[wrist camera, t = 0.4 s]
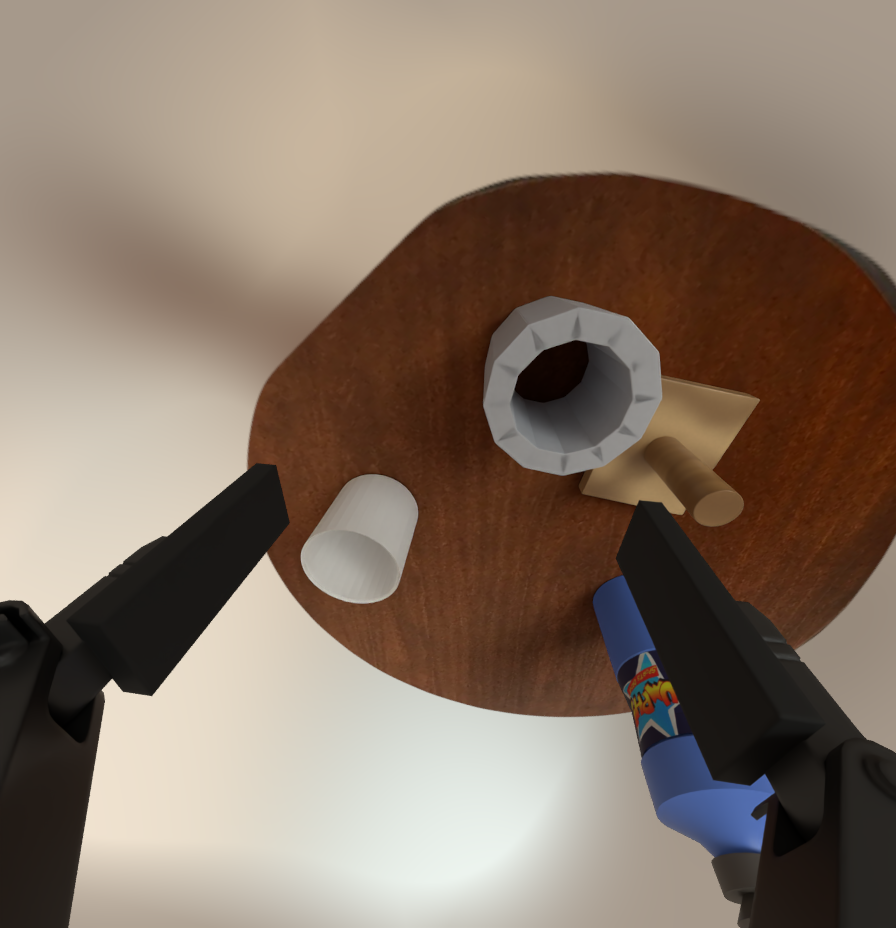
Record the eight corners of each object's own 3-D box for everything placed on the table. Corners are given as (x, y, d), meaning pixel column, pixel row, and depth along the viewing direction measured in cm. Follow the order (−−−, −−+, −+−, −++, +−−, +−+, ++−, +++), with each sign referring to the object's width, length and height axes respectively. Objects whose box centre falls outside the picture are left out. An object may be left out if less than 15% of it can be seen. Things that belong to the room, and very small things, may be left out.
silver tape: (503, 285, 27) (510, 292, 18) (629, 312, 27) (697, 332, 18) (475, 405, 32) (470, 456, 23) (581, 428, 31) (616, 487, 23)
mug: (387, 458, 35) (356, 514, 27) (434, 520, 39) (419, 586, 31) (305, 502, 39) (258, 562, 31) (354, 555, 43) (323, 621, 35)
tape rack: (631, 368, 28) (693, 410, 20) (748, 393, 28) (861, 446, 20) (578, 485, 34) (608, 557, 26) (674, 506, 34) (737, 585, 26)
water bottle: (575, 604, 43) (664, 944, 21) (631, 560, 38) (815, 932, 17) (632, 634, 44) (768, 979, 23) (692, 595, 40) (932, 976, 18)
